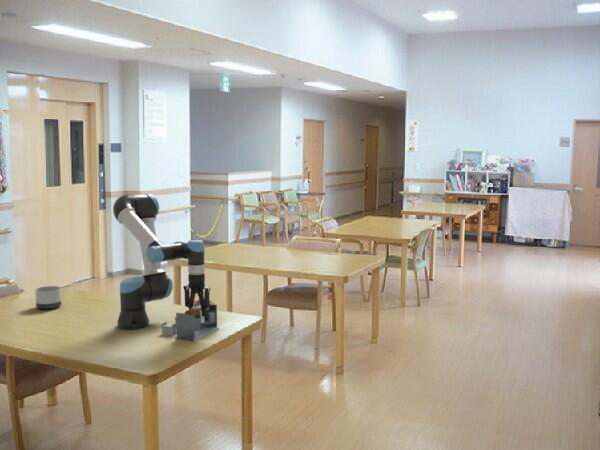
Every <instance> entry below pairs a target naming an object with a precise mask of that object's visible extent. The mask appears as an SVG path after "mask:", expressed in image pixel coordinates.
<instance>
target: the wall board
mask: <svg viewBox="0 0 600 450" xmlns="http://www.w3.org/2000/svg"><path fill="white" fill-rule="evenodd" d="M218 330H220V326H217V327H209V326H202V325H200V329H199V330H197V331H195V338H194V341H193V342H197V341H200V340H201V339H203V338H205V337H207V336H209V335H210V334H212V333H214V332H216V331H218ZM180 338H182V337H180ZM174 339H177V335H174ZM184 339H185V340H184V341H187V340H186V338H184ZM187 339H188V338H187ZM177 340H178V339H177ZM189 340H190V338H189ZM189 340H188V341H189Z"/></svg>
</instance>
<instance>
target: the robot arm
mask: <svg viewBox="0 0 600 450" xmlns="http://www.w3.org/2000/svg"><path fill="white" fill-rule="evenodd" d="M112 212H113V216H114V218H115V219H116V221H117V222H118V223H119V224H120V225H124V227H126V229H127V230H128V231H129V232H130V234H132V236H134V238H135V239H136V240H137V241H138V242H139V246H140V251H141V256H142V257H141V259H142V264H143V270H144V272H143V274H142V276H140V275H139V276H138V275H137V276H130V277H127V278H124V279H122V281H121V282H120V283H119V296H120V297H119V299H120V300H119V301H120V302H119V303H120V312H119V316H118V318H117V321H116V322H117V325H116V326H117V328H118V329H120V330H128V331H129V330H139V329H144V328H147V327H149V326H150V319H149V316H148V314H147V310H146V303H149V302H154V301H160V300H163V299H167V298H168V297H170V296H171V295H172V291H173V288H174V287H173V286H174V284H173V279H172V278H171V276H170V275H169V274H167V271H166V270H165V269H163V267H162V263H161V262H167V261H168V262H169V261H175V260H181V259H183V260H187V268H188V269H187V273H188V278H187V279H188V284H186V285H183V292H184V307H186V308H188V310H190V309H192V308H195V307H194V301H196V300H195V299H196V295H197V296H198V300H199V301H200V305H201V310H200V324H202V323H204V316H205V315H206V309H207V308H209V301H210V291H211V287H210V286H209V287H208V286H206V284H205V281H206V278H205V276H206V275H205V271H206V269H205V250H206V249H205V244H204V243H205V242H204V241H203V240H202V239H190V240H188V241H187V242H183V241H175V242H173V243H168V244H165V243H163V242H162V241H161V240H160V239H159V238H158V237H157V233H156V227H155V221H156V220H157V215H158V214H159V212H160V204H159V201H158V198H156V196H154V195H153V194H151V193H137V194H124V195H121V196H119V197H118V198H117V199H116V200H115V201H114V203H113V206H112ZM194 320H195V318H194Z"/></svg>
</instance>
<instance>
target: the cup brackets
mask: <svg viewBox="0 0 600 450" xmlns="http://www.w3.org/2000/svg"><path fill="white" fill-rule="evenodd" d="M209 307H210V310H209V312H207V313H206V315H205V316H204V323H202V324H200V316H198V317H196V318H195V320H194V315H193V314H185V312H184V313H183V312H175V315H176V316H175V317H176V333H177V334H176V336H177V340H183V341H189V342H190V341H191V342H195V341H194V338H195V331H197V330H199V329H200V325H202V326H209V327H218V304H215V303H214V304H209ZM180 337H182V338H180ZM184 338H186V340H185V339H184ZM187 338H188V339H187ZM189 338H190V340H189Z"/></svg>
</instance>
